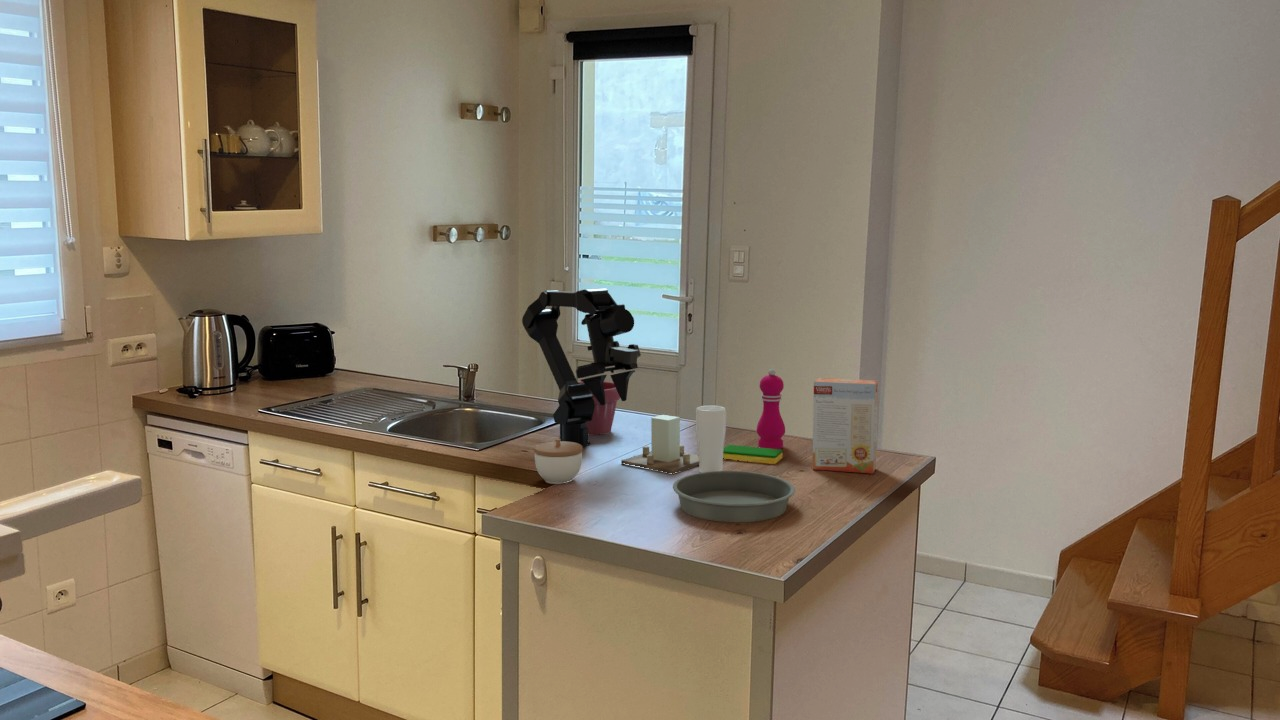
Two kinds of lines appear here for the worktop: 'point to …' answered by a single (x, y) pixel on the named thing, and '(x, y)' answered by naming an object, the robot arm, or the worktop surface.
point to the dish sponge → (752, 454)
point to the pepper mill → (771, 413)
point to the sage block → (665, 438)
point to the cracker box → (845, 425)
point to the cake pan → (733, 495)
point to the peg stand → (669, 467)
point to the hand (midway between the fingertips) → (614, 403)
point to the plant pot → (603, 411)
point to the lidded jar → (558, 460)
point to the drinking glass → (710, 437)
